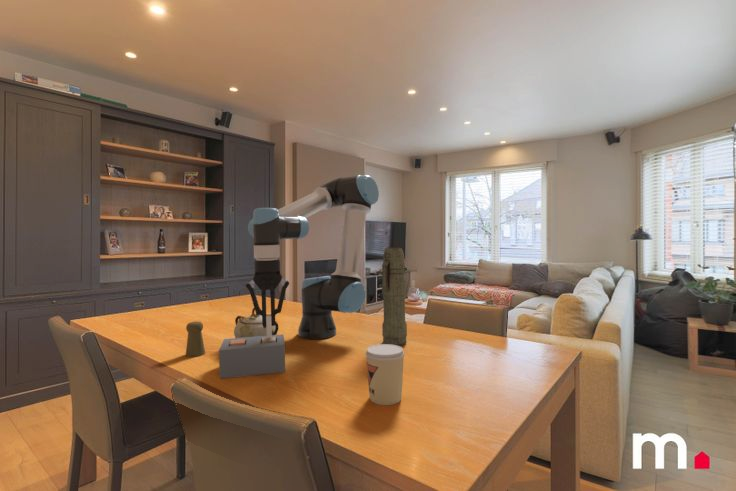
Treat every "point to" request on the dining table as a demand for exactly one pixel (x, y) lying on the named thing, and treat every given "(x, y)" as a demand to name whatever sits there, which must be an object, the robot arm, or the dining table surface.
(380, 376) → the cream lidded canister
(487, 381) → the dining table surface
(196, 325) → the green pepper mill
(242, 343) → the terracotta peg
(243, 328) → the sugar bowl
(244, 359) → the socket block
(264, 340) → the cream peg
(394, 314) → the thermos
